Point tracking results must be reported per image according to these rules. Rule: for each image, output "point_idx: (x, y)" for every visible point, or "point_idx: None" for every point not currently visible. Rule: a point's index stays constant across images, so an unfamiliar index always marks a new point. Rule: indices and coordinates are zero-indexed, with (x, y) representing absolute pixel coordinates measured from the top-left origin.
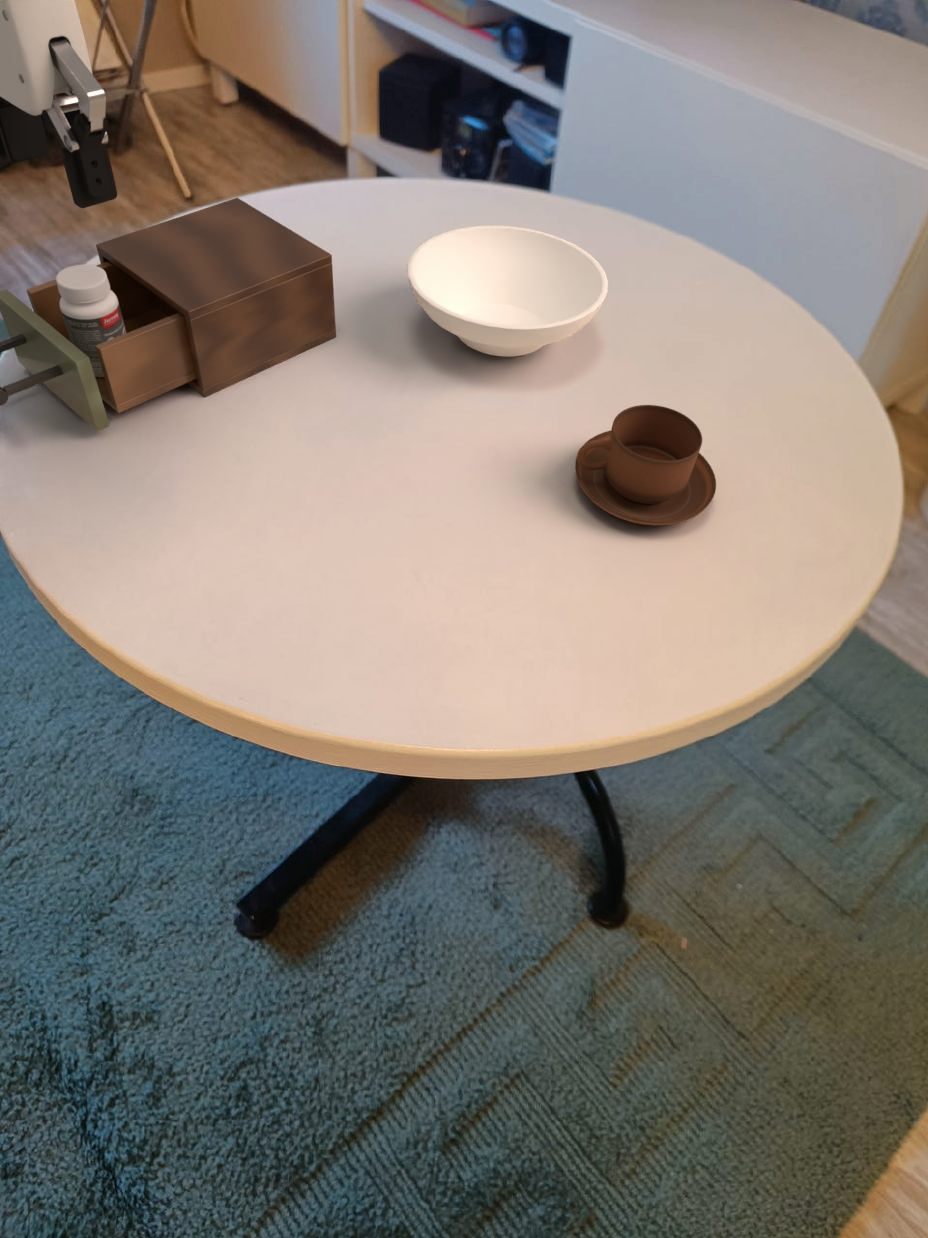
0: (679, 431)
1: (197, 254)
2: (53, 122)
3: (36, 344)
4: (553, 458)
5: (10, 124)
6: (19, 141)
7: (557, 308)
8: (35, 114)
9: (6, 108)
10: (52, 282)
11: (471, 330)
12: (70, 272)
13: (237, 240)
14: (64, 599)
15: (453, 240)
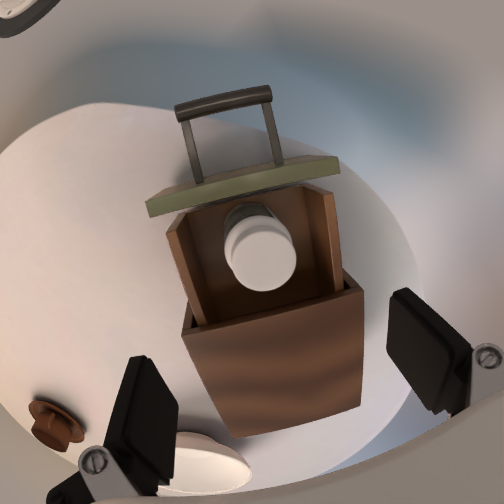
0: (61, 445)
1: (288, 369)
2: (132, 492)
3: (248, 171)
4: (80, 409)
5: (426, 346)
6: (406, 331)
7: (186, 466)
8: (101, 500)
9: (444, 368)
10: (332, 224)
11: None
12: (279, 252)
13: (293, 399)
14: (28, 132)
15: (246, 469)
